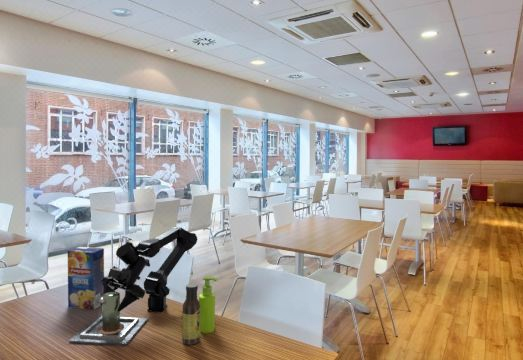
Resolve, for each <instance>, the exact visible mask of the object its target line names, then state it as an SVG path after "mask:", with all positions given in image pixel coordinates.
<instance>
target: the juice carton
mask: <svg viewBox="0 0 523 360" xmlns="http://www.w3.org/2000/svg"><path fill="white" fill-rule="evenodd" d="M104 265H105V248H101V247H88V246H78V247H75V248H72V249H69V250H67V300H68V301H67V304H68V305H67V306H68V308H75V309H84V310H93V311H94V310H95V309H97V308H99V307H100V306H101V305H100V304H101V302H100V301H99V300H100V298H102V295H103V293H104V286H103V285H102V282H101V281H102V279H103V278H104V277H105V266H104Z"/></svg>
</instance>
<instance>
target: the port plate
mask: <svg viewBox="0 0 523 360" xmlns="http://www.w3.org/2000/svg"><path fill="white" fill-rule="evenodd" d="M148 319H149V318H148V317H134V316H133V317H132V316H120V328H119V329H118V330H116V331H112V332H105V331H103V330H102V315H97V316H96V317H95V318H93V319H92V320H91V321H90V322H89V323H88V324H86V325H85V326H84V327H83V328H82V329H81V330H80V331H78V332H77V333H76V334H75V335H73V336H72V337H71V338H70V339H69V340H68V343H70V344H82V345H83V344H84V345H100V346H102V345H103V346H118V347H126V346H128V344H129V343H130V342H131V341H132V339H133V338H135V336H136V335H137V333H138V332H139V331H140V330H141V329H142V328H143V326H144V325H145V324H146V323H147V321H149V320H148Z"/></svg>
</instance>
